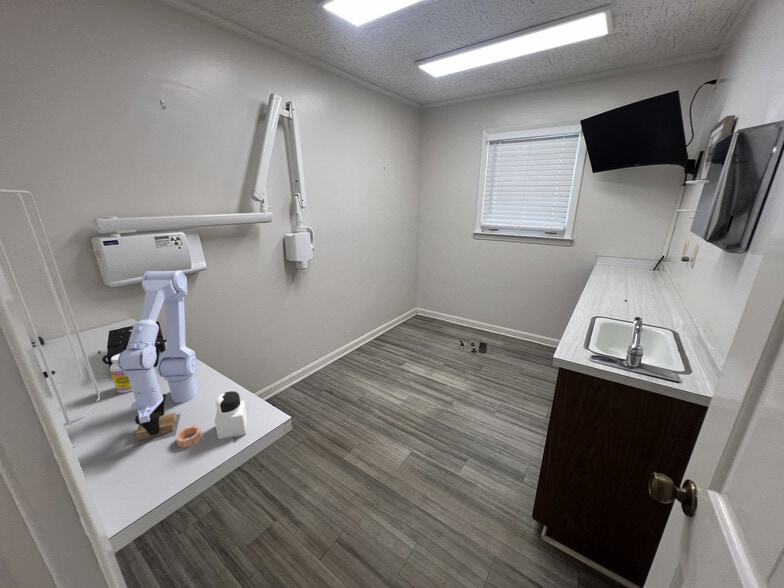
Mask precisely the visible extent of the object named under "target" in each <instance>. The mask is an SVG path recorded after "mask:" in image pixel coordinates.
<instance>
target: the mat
mask: <svg viewBox="0 0 784 588" xmlns="http://www.w3.org/2000/svg"><path fill="white" fill-rule="evenodd" d="M176 418H177V420H176V424H175V428H174V431H172V432H168V433H164V434H160V435H156V436H153V437H149V438H145V439H141V440H137V437H136V436H135V438H134V440H133V444H132V445H131V447H132V448H134V447H137V446H142V445H144V444H145V445H146V444H148V443H153V442H156V441H160V440H165V439H167V438H171V437H175V436H177V430H178V427H179V422H180V418H181V413H179V414H178V413H177V414H176Z"/></svg>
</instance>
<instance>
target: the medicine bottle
mask: <svg viewBox="0 0 784 588" xmlns="http://www.w3.org/2000/svg"><path fill="white" fill-rule="evenodd" d="M215 405H216V413H215V418H214V425H215V429H216V435H217V439H218V440H222V439H227V438H230V437H232V438H237V437H241V436H245V435H246V434H247V425H248V414H247V411H246V404H245V401H244V400H241V397H240V393H239V392H237V391H233V390H231V391H227V392H223V393H221V394H219V396H217V398H215Z"/></svg>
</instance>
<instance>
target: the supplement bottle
mask: <svg viewBox="0 0 784 588" xmlns="http://www.w3.org/2000/svg"><path fill="white" fill-rule="evenodd" d="M120 354H121V353H118V354H115V355H113V356H112V357H111V358H110V360H111V363H112V364H111V365H110V367H109V369H110V370H109V371H110V373H111V377H112V379H113V383H114V386H115V388H116V389H115V390H116V392H118V393H120V394H121V393H122V394H125V393H130V392H133V391H132V388H131V384H130V381H129V378H128V377H127V376H125V374H124V372H123V371H122V370H120V369H119V367H118V358H119V355H120Z"/></svg>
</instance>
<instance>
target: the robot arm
mask: <svg viewBox="0 0 784 588" xmlns="http://www.w3.org/2000/svg"><path fill="white" fill-rule="evenodd" d="M141 287H142V288H143V291H144V292H145V294H144V299H143V304H142V305H143V306H142V310H141V316H140V320H139V321H137V322H136V323H134V324H133V326H132V330H131V333H130V337H129V339H128V343H127V346H126V349H124V350H123V351H122V352H120V353H119V354H120V355H119V358H118V367H119V369H120V370H122V371H123V372H124V374H125V376H127V377H128V378H129V381H130V384H131V388H132V391H131V392H132V394H133V398H134V400H135V401H134V402H133V403H132V404H131V409H135V408H136V409H137V412H138V415H136V417H135V418H134V422H135V424H136V425H138V426H139V425H141V426H142V427H143V428H144V429H145V430H146V431H147V432H148V433H149V435H150V436H152V435H155V434H159V431H160V426H159V417H160V416H162V415H165V402H166V399H167V393H162V392H161V391H162V390H161V386H160V384H159V381H158V377H157V374H158V376H159V377H161V378H163V379H164V380H165V381H167V384H168V385H167V386H168V389H169V392H170V396H171V399H172V402H173V403H174V404H183V403H187V402H189V401H192V400H193V399H194V398H196V397H197V396H198V388H197V387H198V384H197V380H196V375H195V373H196V371H197V368H198V359H197V357H196V352H195V351H194V350H193V349H191V348H189V347H187V346H186V345H187V344H186V321H185V320H186V317H185V312H186V311H185V297H186V296H188V277H187V276H186V275H185V273H184V272H183V271H182V270H158V271H157V270H156V271H154V270H147V271H145V272H144V274H143V276H142V281H141ZM163 304H164V305H165V306H164V307H165V308H164V309H165V334H166V337H165V338H166V341H165V342H166V349H165V350H164V351H162V352H161V353H160V354H159V355H158V362H157V367H156V371H155V367H154V366H155V363H156V361H157V347H156V346H155V344H156V341H157V337H158V334H159V330H160V326H159V325H158V324H157V323H156V322H157V320H158V317H159V314H160V311H161V309H162V307H163ZM156 372H157V374H156Z"/></svg>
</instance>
